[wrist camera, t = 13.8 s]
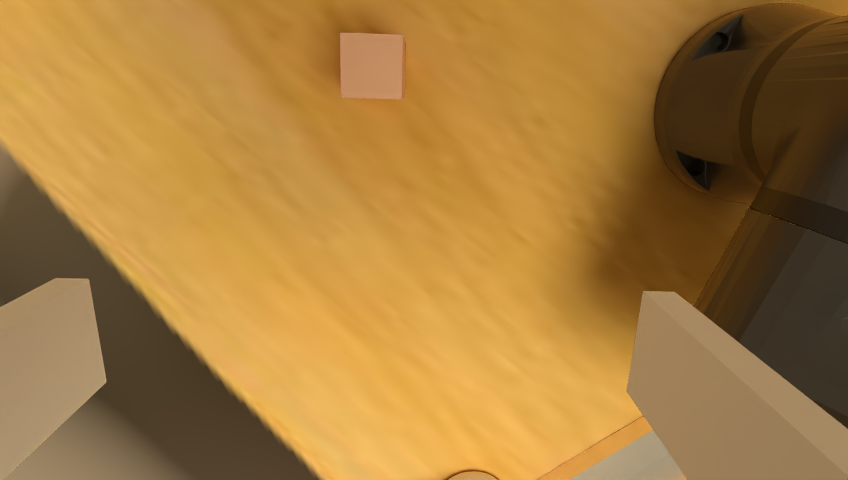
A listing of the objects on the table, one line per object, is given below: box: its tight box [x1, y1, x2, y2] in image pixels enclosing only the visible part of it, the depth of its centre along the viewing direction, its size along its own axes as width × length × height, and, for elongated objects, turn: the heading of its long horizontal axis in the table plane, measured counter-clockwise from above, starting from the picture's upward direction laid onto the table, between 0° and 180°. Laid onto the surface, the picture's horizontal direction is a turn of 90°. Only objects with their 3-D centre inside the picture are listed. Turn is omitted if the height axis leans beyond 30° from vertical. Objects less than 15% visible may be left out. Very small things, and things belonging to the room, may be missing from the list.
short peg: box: [340, 32, 406, 99], centre depth 37 cm, size 4×4×8 cm
